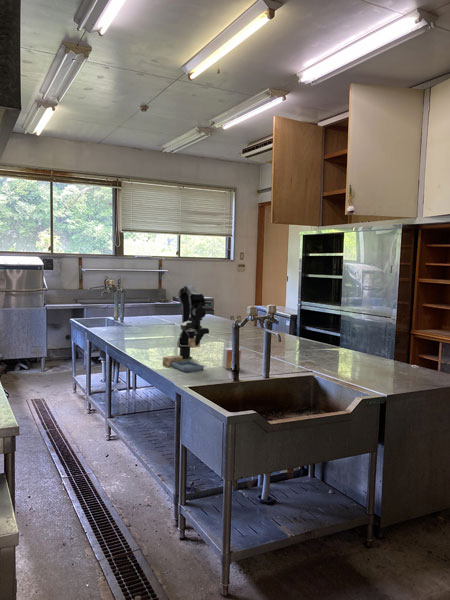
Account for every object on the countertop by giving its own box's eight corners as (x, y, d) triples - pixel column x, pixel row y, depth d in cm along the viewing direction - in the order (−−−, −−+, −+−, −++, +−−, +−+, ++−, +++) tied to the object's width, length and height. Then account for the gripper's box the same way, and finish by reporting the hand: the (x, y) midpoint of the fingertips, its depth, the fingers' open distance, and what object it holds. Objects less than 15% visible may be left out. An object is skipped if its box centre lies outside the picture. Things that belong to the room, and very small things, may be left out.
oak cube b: (171, 363, 257) (171, 355, 256) (179, 363, 259) (179, 355, 258) (174, 365, 253) (175, 357, 252) (182, 365, 255) (182, 356, 254)
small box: (225, 369, 251) (226, 349, 250) (223, 366, 256) (224, 347, 255) (240, 368, 253) (241, 349, 252) (237, 366, 258) (238, 347, 258)
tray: (170, 366, 250) (171, 362, 249) (189, 364, 257) (189, 360, 256) (184, 372, 239) (184, 367, 239) (203, 369, 246) (203, 365, 246)
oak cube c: (162, 365, 252) (162, 357, 251) (168, 364, 255) (168, 355, 255) (168, 366, 249) (169, 358, 249) (174, 365, 253) (174, 357, 253)
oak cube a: (188, 346, 254) (188, 338, 253) (195, 345, 256) (195, 337, 256) (193, 347, 250) (193, 339, 250) (199, 347, 253) (200, 338, 253)
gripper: (173, 314, 254) (172, 343, 255) (193, 318, 240) (191, 348, 241) (190, 314, 261) (189, 342, 262) (210, 318, 247) (209, 347, 248)
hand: (194, 344), depth 253 cm, fingers closed on oak cube a, 4 cm apart
